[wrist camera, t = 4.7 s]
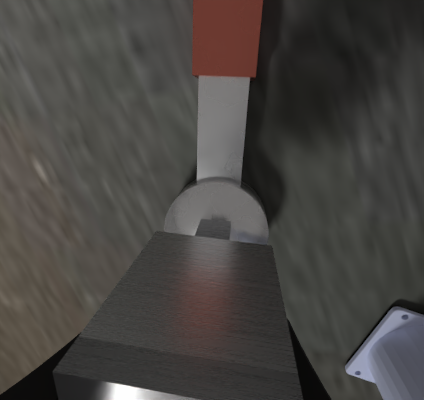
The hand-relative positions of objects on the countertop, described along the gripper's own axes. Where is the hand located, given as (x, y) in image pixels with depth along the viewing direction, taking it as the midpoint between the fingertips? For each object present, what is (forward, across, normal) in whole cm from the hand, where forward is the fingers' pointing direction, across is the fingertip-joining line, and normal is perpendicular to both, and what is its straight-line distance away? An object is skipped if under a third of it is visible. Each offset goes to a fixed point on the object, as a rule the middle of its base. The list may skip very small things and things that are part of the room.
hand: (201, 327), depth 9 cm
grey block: (+2, 0, 0) cm, 2 cm away
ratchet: (+10, 0, -6) cm, 11 cm away
